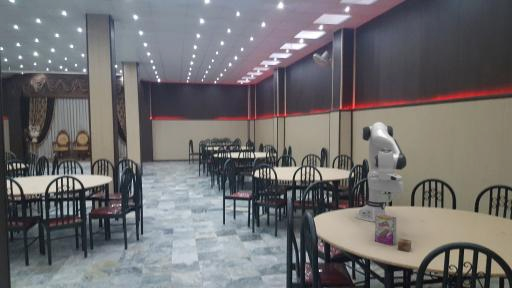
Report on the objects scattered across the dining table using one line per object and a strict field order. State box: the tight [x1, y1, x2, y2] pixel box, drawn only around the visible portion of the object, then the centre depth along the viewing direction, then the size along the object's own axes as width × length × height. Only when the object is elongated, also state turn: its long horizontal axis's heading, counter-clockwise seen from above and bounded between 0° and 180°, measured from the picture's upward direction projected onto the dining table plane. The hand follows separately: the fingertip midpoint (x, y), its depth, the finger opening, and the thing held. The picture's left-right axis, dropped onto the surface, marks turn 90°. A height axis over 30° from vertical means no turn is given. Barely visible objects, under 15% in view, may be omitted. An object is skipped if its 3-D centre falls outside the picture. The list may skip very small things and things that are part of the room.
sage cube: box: [381, 192, 392, 203], centre depth 208 cm, size 4×4×4 cm
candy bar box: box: [374, 214, 397, 246], centre depth 209 cm, size 11×5×16 cm, turn 48°
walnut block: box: [397, 238, 412, 253], centre depth 198 cm, size 6×6×5 cm
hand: (385, 198), depth 208 cm, fingers closed on sage cube, 4 cm apart
